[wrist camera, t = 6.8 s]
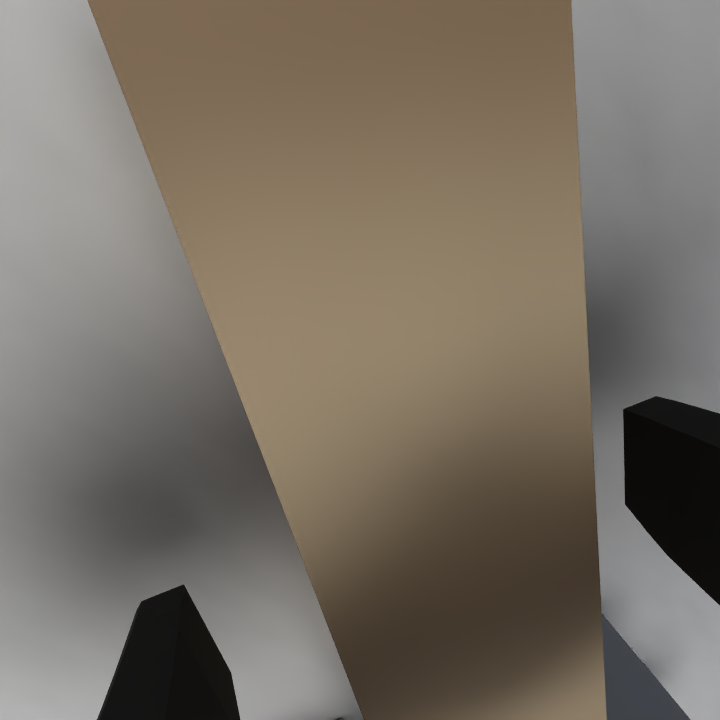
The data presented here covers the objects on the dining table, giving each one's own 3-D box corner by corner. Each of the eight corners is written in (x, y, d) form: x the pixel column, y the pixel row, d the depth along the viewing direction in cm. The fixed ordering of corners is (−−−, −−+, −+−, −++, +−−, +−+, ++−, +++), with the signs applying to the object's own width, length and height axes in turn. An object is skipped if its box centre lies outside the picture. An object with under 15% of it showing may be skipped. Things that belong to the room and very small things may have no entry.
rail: (117, 23, 8) (77, -29, 4) (371, -38, 8) (563, -140, 4) (377, 729, 15) (453, 952, 11) (501, 672, 16) (613, 866, 12)
